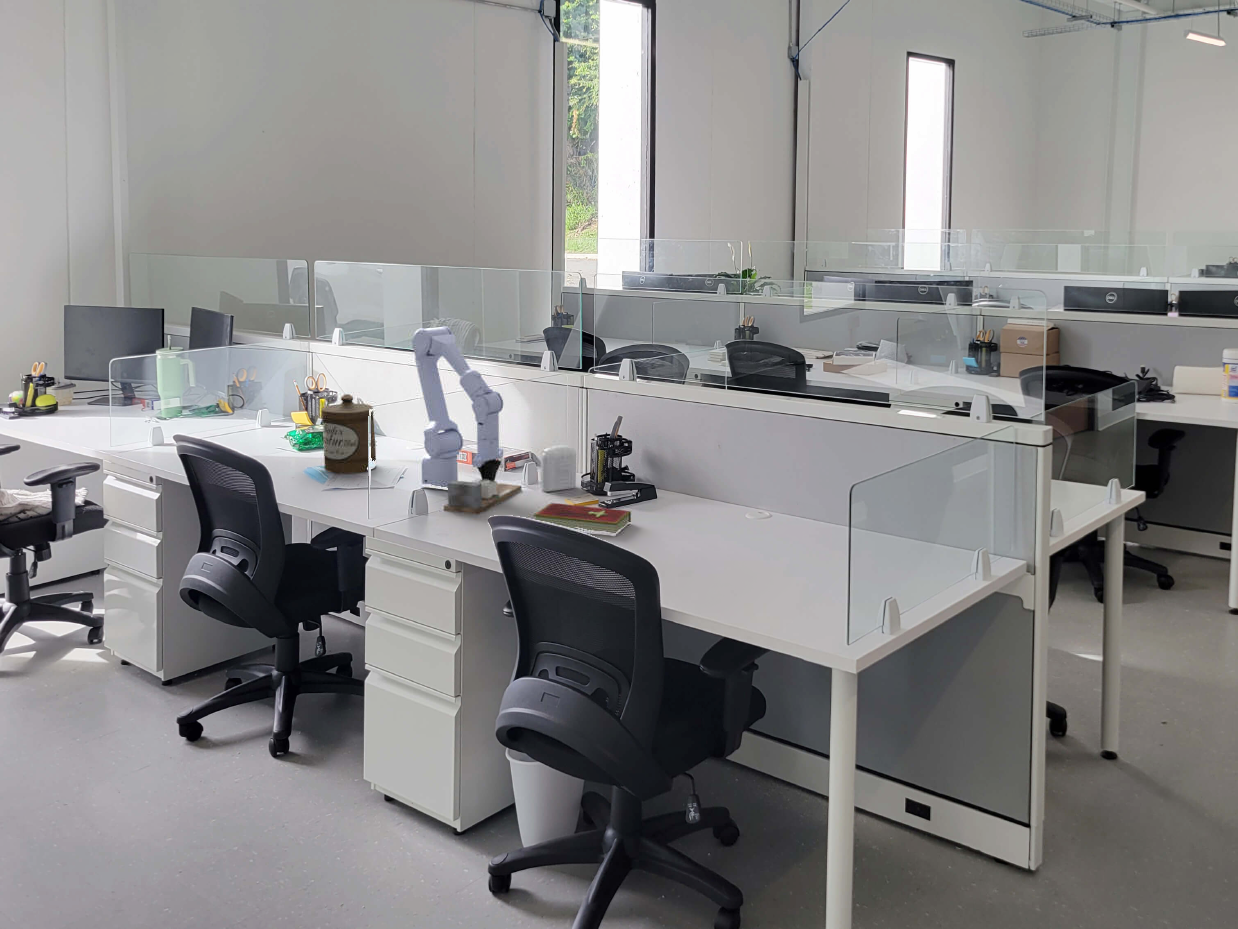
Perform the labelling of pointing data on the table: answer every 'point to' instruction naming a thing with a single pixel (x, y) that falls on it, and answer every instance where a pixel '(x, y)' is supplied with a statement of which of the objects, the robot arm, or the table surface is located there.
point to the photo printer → (558, 468)
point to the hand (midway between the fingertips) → (488, 487)
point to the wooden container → (347, 436)
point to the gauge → (487, 487)
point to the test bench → (484, 500)
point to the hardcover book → (584, 517)
